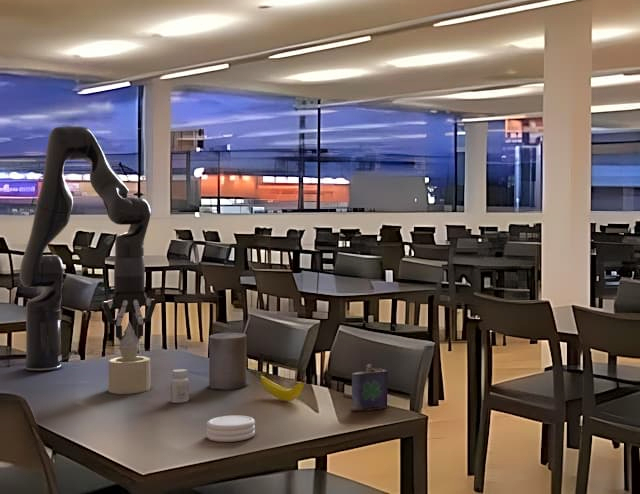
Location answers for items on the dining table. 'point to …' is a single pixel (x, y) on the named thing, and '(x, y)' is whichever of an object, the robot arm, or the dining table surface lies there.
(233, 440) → the coaster
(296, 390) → the banana
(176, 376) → the pill bottle
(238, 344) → the pillar candle
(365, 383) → the flask
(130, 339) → the grey tall pointed piece
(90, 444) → the dining table surface
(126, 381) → the hollow cream cylinder
